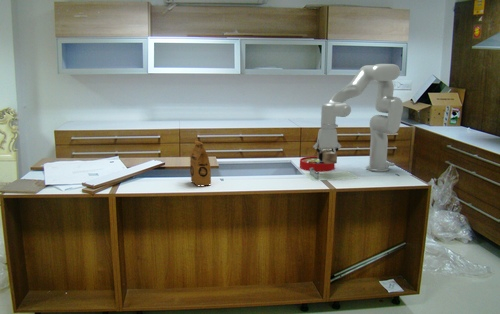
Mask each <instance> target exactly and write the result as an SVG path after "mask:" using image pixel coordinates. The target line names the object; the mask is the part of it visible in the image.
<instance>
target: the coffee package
mask: <svg viewBox="0 0 500 314" xmlns="http://www.w3.org/2000/svg"><path fill="white" fill-rule="evenodd" d="M194 145H195V146H194V147H193V148H192V151H191V153H190V156H189V157H190V158H189V159H190V162H189V163H190V164H189V166H190V167H189V168H190V170H189V174H190V181H191V182H192V183H193V184H194V183H195V184H196V185H195V184H194V185H195V186H197V185H209V184H211V185H212V175H211V174H212V171H211V168H212V167H211V163H210V158H209V156H208V155H209V154H208V153H207V151H206V148H205V146H204V143H203V142H201V141H200V140H199V141H198V140H195V141H194Z"/></svg>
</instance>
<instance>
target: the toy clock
mask: <svg viewBox="0 0 500 314" xmlns="http://www.w3.org/2000/svg"><path fill="white" fill-rule="evenodd" d="M335 166H336V163H332V164H325V163H324V162H322V161H320V160H319V159H318V158H317V155H316V156H313V155H312V156H305V157H300V159H299V168H300V169H301V170H303V171H309V172H310V169H309V168H314V169H313V170H314V171H318V172H331V171H333V170H335Z"/></svg>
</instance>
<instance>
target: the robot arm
mask: <svg viewBox="0 0 500 314" xmlns="http://www.w3.org/2000/svg"><path fill="white" fill-rule="evenodd" d="M400 75H401V70H400V67H399V65H397V64H394V63H376V64H371V65H370V64H369V65H368V64H367V65H363V66H362V67H360V69H359V70H358V71H357V72H356V74H355V75H354V77H353V78H352V79H351V80H350V82H349V83H348V84H347V85H345V86H344V87H343V88H341V89H340V90H339V91H337V92H335V94H334V95H333V96H332V97H331V98H330V99H329V101H328V102H327V103H322V105H321V112H320V116H321V117H320V129H318V132H317V133H318V134H317V139H316V142H315V144H313V145H312V148H314V150H316V152H318V153H319V160H320V161H322V151H323V149H331V151H333V152H334V153H336V154H337V152H338V151H339V149H341V148H342V145H341V143H340V142H339V141H338V132H337V131H338V130H337V129H336V128H338V126H339V125H338V124H336V119H337V118H346V117H348V116H349V115H350V114H351V113H352V108H351V106H350V105H349V104H348V103H346V101H347V100H350V99H353V98H355V97H358V96H360V95H362V94H363V92H364V91H365V90H366V88H367V87H368V85H369V84H370V83H371V82H376V83H377V94H376V100H375V110H376V111H377V112H379V113H382V114H376V115H372V117H371V118H370V120H369V129H370V144H369V145H370V146H369V164H368V165H366V167H365V168H366V170H367V171H371V172H376V173H377V172H383V173H384V172H388V171H389V170H390V168H389V167H395V162H389V161H387V159H388V158H387V157H388V146H389V143H388V142H389V140H388V139H389V138H388V135H387V134H390V135H392V134H393V135H394V134H396V133H398V131H399V129H400V126H401V122H402V116H403V111H404V103H403V100H402V99H401V98H400V97H397V96H394V90H395V89H394V88H395V86H394V82H393V81H395V80H397V79H398V78H399V77H400ZM383 114H387V115H383Z"/></svg>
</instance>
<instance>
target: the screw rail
mask: <svg viewBox="0 0 500 314" xmlns="http://www.w3.org/2000/svg"><path fill="white" fill-rule="evenodd" d="M309 169H310V171H309V173H310V174H311V175H312V176H313V177H314V178H316V179H317V181H320V180H319V172H318V171H314V170H313V169H314V168H309Z"/></svg>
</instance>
